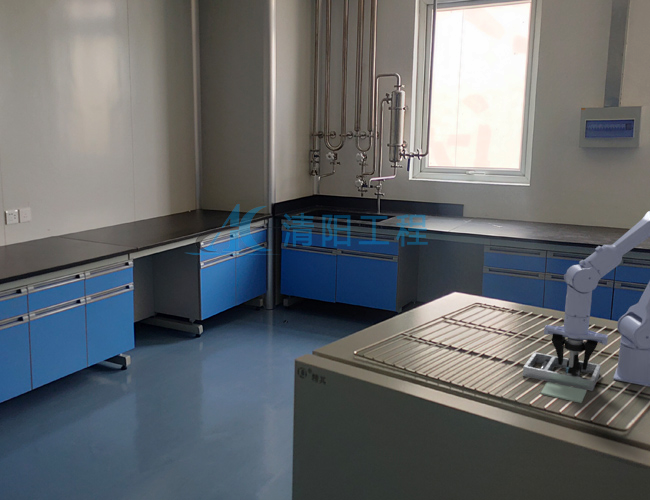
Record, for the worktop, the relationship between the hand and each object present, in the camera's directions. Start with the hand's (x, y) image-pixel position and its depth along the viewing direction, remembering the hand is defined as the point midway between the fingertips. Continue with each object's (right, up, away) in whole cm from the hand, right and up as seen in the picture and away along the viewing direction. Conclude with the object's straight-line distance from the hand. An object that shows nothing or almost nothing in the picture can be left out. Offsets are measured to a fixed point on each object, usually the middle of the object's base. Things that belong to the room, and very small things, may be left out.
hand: (572, 365), depth 151 cm
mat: (-6, -5, -8) cm, 11 cm away
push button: (0, -3, +1) cm, 3 cm away
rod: (-7, -2, +5) cm, 8 cm away
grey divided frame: (-2, -3, +2) cm, 4 cm away
